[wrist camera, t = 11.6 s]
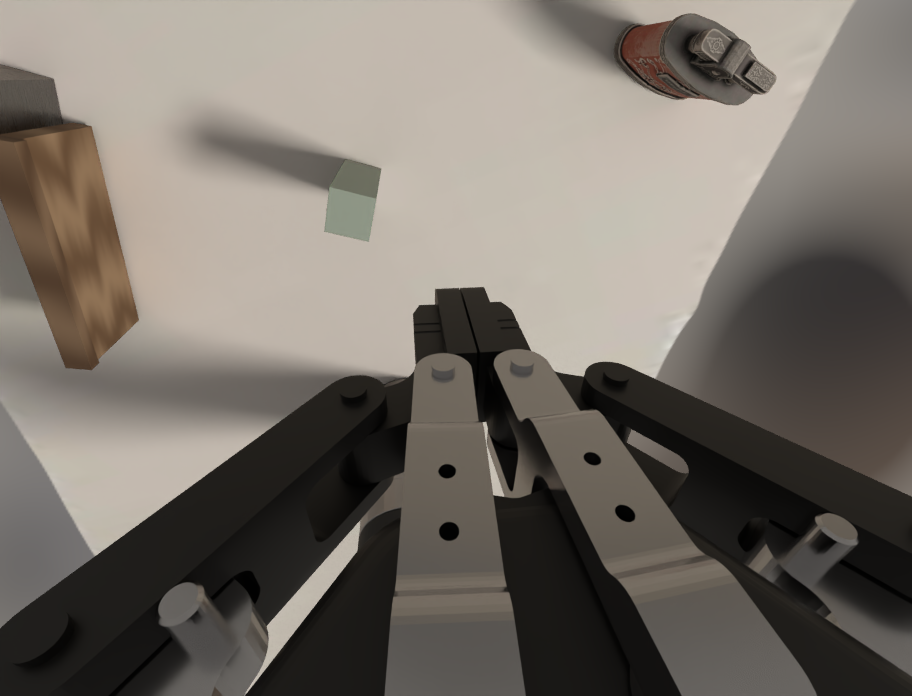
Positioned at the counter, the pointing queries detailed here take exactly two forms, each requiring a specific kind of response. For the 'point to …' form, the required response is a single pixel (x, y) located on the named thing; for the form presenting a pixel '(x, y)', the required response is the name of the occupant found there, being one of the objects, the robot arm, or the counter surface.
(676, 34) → the lighter
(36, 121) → the hinge post
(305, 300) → the counter surface
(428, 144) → the counter surface
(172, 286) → the counter surface
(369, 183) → the latch post
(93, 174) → the gate
